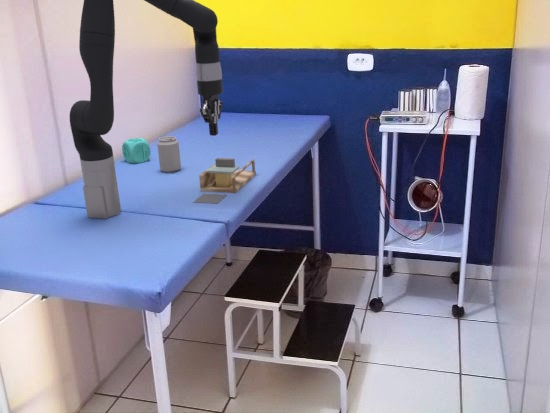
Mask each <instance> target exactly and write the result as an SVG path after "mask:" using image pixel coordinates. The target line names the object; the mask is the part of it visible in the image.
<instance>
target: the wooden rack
mask: <svg viewBox="0 0 550 413" xmlns="http://www.w3.org/2000/svg"><path fill="white" fill-rule="evenodd" d="M255 163H256V162H255V159H251V160H250V161H249V162H248V163H247V164H245V165H244V166H243V167H241V169H237V170H236V171H235V172H234V173H233V174H232V186H230V187H218V186H216V177H215V173H207V172H206V171H207V170H208V169H209V168H211V167H212V166H213V165H216V162H214V164H213V165H211V166H209V168H207V169H206V170H204V171H203V172H201V174H199V175H198V177H199V186H200V188H199V189H200V191H201V192H210V193H214V192H215V193H228V194H229V193H231V194H237V192H239V190H241V189H242V188H243V187H244V186H245V185H246V184H247V183H248V182H250V180H251V179H253V178H254V177H255V176H256V174H257V171H256V168H255V167H256V166H255V165H256V164H255ZM249 166H251V170H246V169H247V168H249Z"/></svg>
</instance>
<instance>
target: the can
mask: <svg viewBox="0 0 550 413" xmlns="http://www.w3.org/2000/svg"><path fill="white" fill-rule="evenodd" d="M179 143H180V142H179V140H178V139H177V137H176V136H173V135H172V136H171V135H170V136H169V135H168V136H167V135H165V136H162V137H159V138H158V142H157V144H156V146H157V153H158V161H159V168H160V170H161V171H162V172H163V173H168V174H169V173H170V174H171V173H175V172H178V171H179V170H180V169H181V168H182V163H181V162H182V161H181V154H180V152H181V151H180V144H179Z"/></svg>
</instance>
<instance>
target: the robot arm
mask: <svg viewBox="0 0 550 413" xmlns="http://www.w3.org/2000/svg"><path fill="white" fill-rule="evenodd" d="M143 1H145V3H148V4H149V5H151V6H153V7H155V8H156V9H158V10H160V11H162V12H164V13H165V14H167V15H169V16H171V17H172V18H175V19H178V20H180V21H182V22H183V23H185V24H186V25H187V26H189V27H191V28H192V32H193V37H194V55H195V56H194V57H195V65H196V66H195V75H196V76H195V77H196V86H197V87H196V88H197V94H198V95H199V96H202V107H200V108H199V112H200V115H201V117H202V119H203V122H204V123H207V124H208V129H209V136H210V137H211V136H218V135H219V127H218V123H219V120H221V115H222V110H223V104H224V102H223V100H220V96H219V95H221V94H223V92H224V88H223V74H222V66H221V59H220V48H219V44H218V40H217V39H218V38H217V37H218V36H217V27H218V16H217V14H216V13H215V11H214V10H213V9H211V8H209V7H207V6H205V5H204V4H202V3H200V2H197V1H196V0H143ZM114 6H115V4H114V0H83V4H82V11H81V16H80V18H81V19H80V26H79V43H78V44H79V46H78V47H79V55H80V58H81V61H82V64H83V66H84V68H85V71H86V73H87V75H88V79H89V85H90V95H89V96H90V97H89V98H90V99H89V100H82V99H81V100H78V101H76V102H74V103H73V104H72V105H71V108H70V110H69V126H70V129H71V134H72V135H71V136H72V139H73V144H74V148H75V149H76V151H77V153H78V156H79V160H80V167H81V173H82V180H83V185H84V186H83V187H82V190H83V196H84V203H85V209H86V214H87V215H86V216H87V218H89V219H102V220H103V219H105V220H106V219H107V218H111V217H114V216H117V215H120V214H121V212H122V208H121V207H122V206H121V202H120V201H121V200H120V193H119V187H118V180H117V179H118V178H117V172H116V166H115V158H114V151H113V148H112V145H111V144H110V143H109V142H107V141H105V140H104V139H103V137H102V136H104V135H106V134H107V135H108V133H109V132H111V130H112V127H113V124H114V120H115V109H114V108H115V105H114V88H113V87H114V85H113V84H114V56H115V42H116V41H115V39H116V38H115V37H116V23H115V22H116V20H115V7H114Z"/></svg>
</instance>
